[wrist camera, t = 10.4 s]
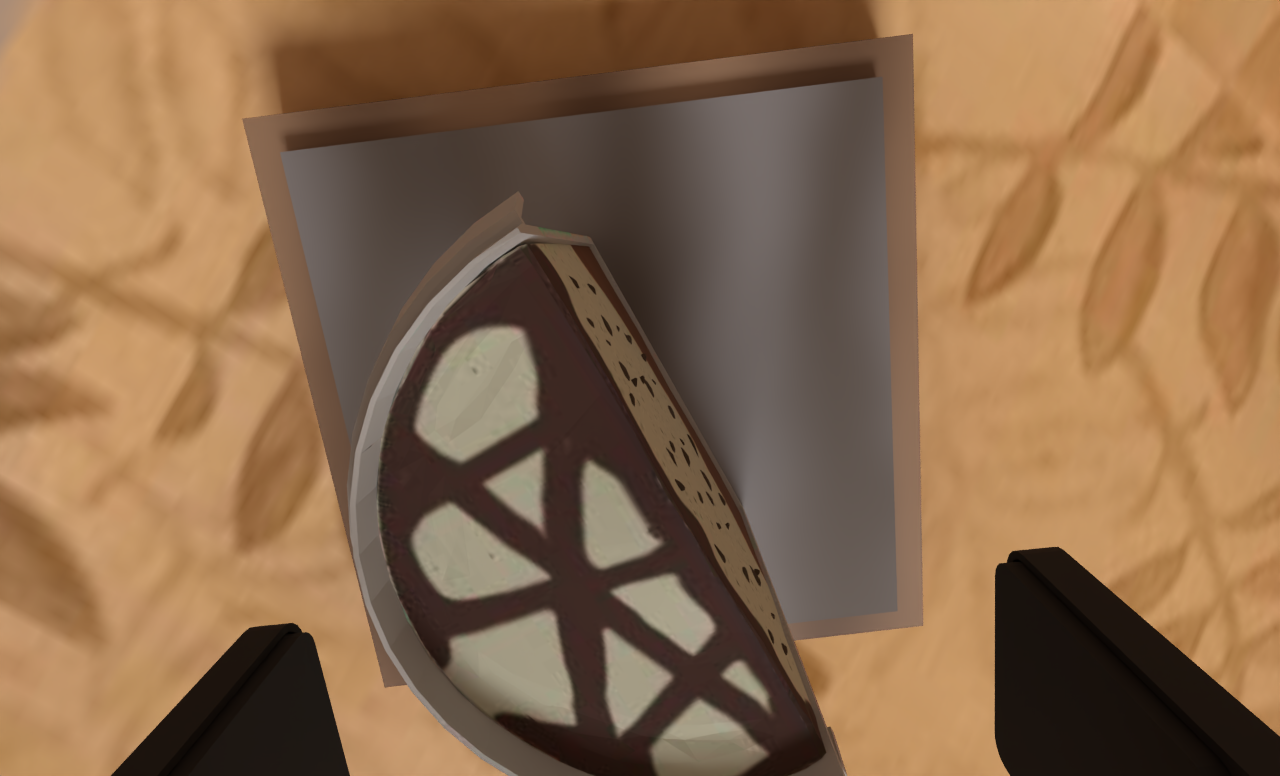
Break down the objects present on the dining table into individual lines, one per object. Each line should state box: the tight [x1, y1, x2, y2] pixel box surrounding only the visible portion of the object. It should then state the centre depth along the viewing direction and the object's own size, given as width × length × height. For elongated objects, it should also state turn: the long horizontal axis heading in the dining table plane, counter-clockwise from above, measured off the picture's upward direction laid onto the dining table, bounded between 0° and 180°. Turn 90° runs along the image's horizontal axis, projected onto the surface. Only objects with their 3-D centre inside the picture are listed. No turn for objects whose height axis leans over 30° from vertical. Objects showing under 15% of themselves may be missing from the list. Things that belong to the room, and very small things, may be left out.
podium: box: [243, 34, 923, 687], centre depth 23 cm, size 18×18×3 cm
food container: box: [347, 191, 847, 776], centre depth 17 cm, size 12×6×10 cm, turn 29°
